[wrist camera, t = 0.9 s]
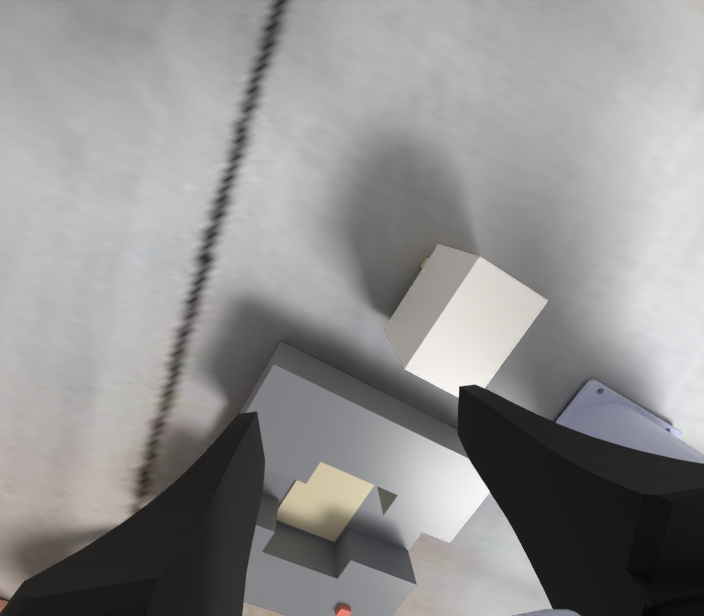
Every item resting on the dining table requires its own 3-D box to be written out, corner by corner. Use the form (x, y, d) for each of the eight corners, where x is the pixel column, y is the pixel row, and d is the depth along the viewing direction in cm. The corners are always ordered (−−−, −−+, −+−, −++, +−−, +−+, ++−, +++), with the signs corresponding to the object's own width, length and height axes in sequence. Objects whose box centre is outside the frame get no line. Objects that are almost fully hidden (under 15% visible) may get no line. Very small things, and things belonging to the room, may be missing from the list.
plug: (484, 274, 22) (548, 300, 16) (431, 352, 23) (472, 404, 17) (432, 242, 21) (479, 256, 15) (380, 324, 22) (404, 369, 16)
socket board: (478, 440, 26) (509, 484, 21) (364, 591, 29) (372, 656, 24) (280, 340, 22) (271, 370, 18) (175, 524, 25) (146, 586, 21)
